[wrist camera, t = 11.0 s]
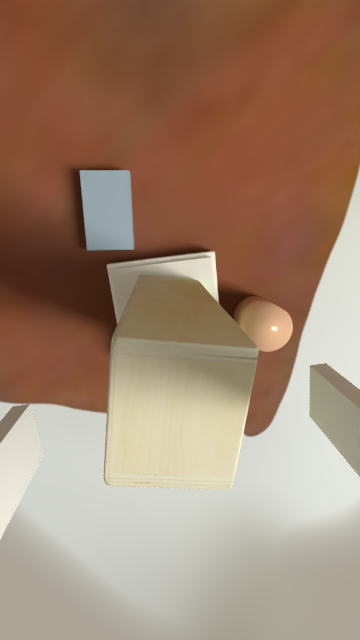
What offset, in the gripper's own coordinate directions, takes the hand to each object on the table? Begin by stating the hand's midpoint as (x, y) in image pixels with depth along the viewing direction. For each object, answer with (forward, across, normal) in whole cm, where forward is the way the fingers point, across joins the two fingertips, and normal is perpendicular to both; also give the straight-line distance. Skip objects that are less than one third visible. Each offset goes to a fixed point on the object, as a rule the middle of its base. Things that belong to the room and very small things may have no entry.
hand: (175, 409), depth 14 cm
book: (+24, -5, +11) cm, 27 cm away
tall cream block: (+21, 0, -1) cm, 21 cm away
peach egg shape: (+23, +11, -3) cm, 26 cm away
